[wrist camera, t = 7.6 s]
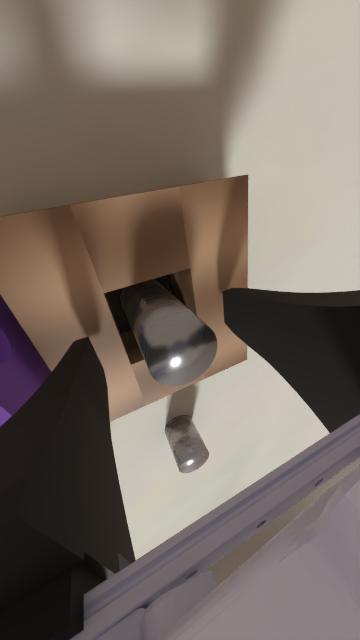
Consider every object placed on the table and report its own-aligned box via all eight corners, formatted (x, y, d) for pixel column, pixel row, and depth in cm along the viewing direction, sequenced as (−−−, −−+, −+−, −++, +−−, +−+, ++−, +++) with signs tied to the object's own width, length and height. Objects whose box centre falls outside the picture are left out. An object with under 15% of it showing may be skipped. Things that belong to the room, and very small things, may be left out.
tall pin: (168, 309, 16) (219, 368, 10) (128, 323, 15) (157, 396, 9) (159, 270, 14) (214, 311, 8) (114, 283, 14) (138, 339, 7)
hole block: (219, 335, 19) (246, 359, 16) (89, 387, 16) (90, 430, 13) (207, 185, 13) (248, 174, 10) (-4, 222, 10) (-46, 224, 7)
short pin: (193, 427, 24) (210, 461, 21) (168, 440, 23) (181, 477, 20) (189, 410, 22) (207, 444, 19) (162, 424, 22) (176, 461, 18)
